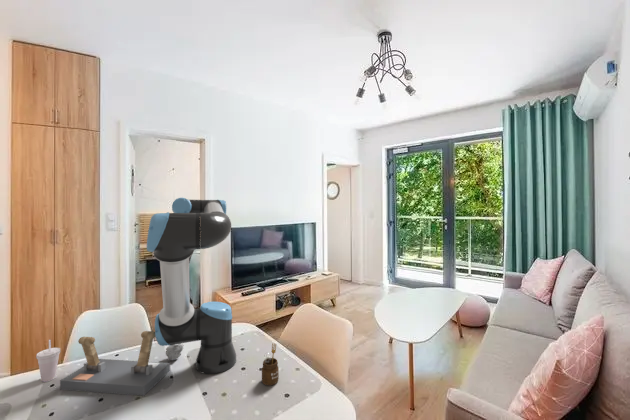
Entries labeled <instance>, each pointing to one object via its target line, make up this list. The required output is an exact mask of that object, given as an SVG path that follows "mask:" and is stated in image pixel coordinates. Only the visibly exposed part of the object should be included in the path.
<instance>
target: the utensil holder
mask: <svg viewBox="0 0 630 420" xmlns="http://www.w3.org/2000/svg"><path fill="white" fill-rule="evenodd" d="M276 349H277V343H274V342H272V345H271V353H272V355H271V353H265V354H264V357H266V358H264V360H263V361H262V368H261V382H262V384H263V385H265V386H274V385H276V384H277V383H278V382H279V379H280V378H279V376H280V374H279V373H280V372H279V371H280V370H279V365H278V363H279V362H278V359H276V358H275V356H274V354H275V353H276V352H277V350H276ZM268 356H269V357H268ZM267 357H268V358H267Z"/></svg>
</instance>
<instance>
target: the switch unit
mask: <svg viewBox="0 0 630 420" xmlns="http://www.w3.org/2000/svg"><path fill="white" fill-rule="evenodd" d="M99 361H100V362H102V363H100V364H99V365H98V370H93V369H87V364H88V363H87V361H86V362H84V363H83V366H82V367H80V368H78V369H77V370H75V371H74V372H72V373H71V374H68V375H67V376H65V377H64V378H61V380H60V382H59V383H60V386H59V387H60V390H65V391H76V392H77V391H78V392H92V393H103V394H104V393H106V394H117V395H118V394H120V395H133V396H145V395H146V394H147V393H149V392H150V390H152V389H153V388H154V387H155V386H156V385H157V384H158V383H159V382H160V381H161V380H162V379H164V377H165V376H166V375H167V374H168V373H170V371H171V363H170V362H159V361H158V362H157V361H149V362H148V365H149V366H148V367H146V373H140V372H134V368H135V366H136V365H137V363H138V360H125V359H111V358H110V359H108V358H107V359H106V358H99Z"/></svg>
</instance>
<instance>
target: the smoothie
mask: <svg viewBox="0 0 630 420" xmlns="http://www.w3.org/2000/svg"><path fill="white" fill-rule="evenodd" d="M51 341H52V340H51V339H48V348H46V349H43V350H40V351H39V352H37V353H36V356H35V357H36V358H35V359H37V362H38V368H39V374H40V379H41V382H42V383H46V382H50V381H52V380H54V379H55V378H56V377H57V376H56V375H57V370H58V365H59V358H60V353H61V347H52V343H51Z"/></svg>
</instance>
